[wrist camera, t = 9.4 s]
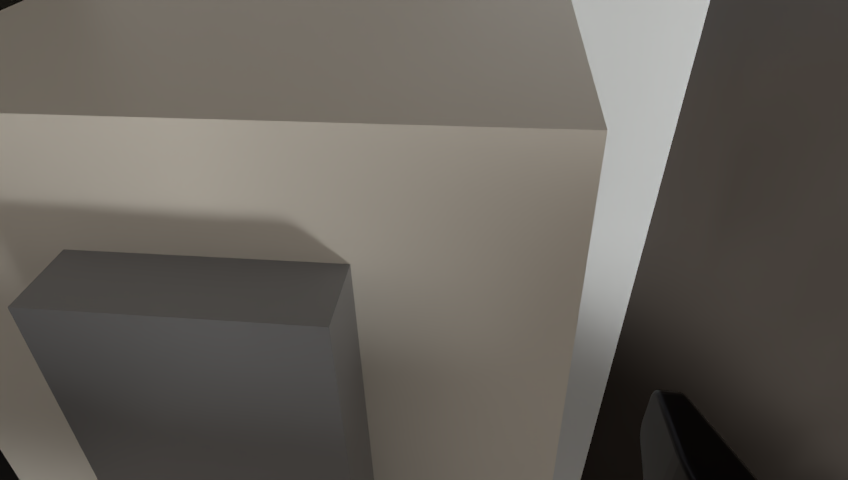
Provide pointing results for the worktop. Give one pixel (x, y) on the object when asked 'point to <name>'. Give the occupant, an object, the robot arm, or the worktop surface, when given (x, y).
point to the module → (291, 237)
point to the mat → (623, 181)
